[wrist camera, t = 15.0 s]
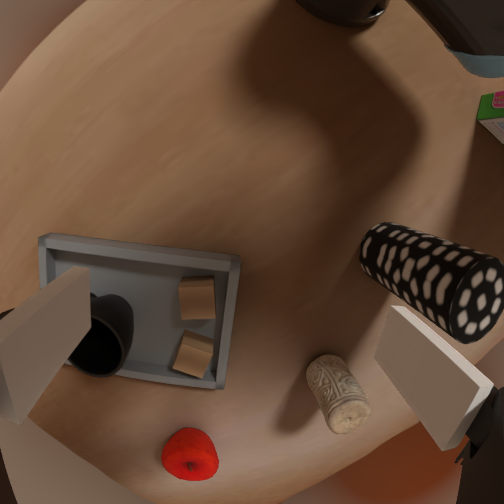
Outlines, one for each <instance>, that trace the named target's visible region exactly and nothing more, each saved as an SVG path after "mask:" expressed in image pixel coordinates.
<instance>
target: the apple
mask: <svg viewBox="0 0 504 504" xmlns="http://www.w3.org/2000/svg"><path fill="white" fill-rule="evenodd" d="M161 460H162V464H163V466H164V467H165V469H166V470H167V471H168V472H169V473H171V474H172V475H174V476H175V477H177V478H179V479H183V480H188V481H201V480H206V479H209V478H211V477H212V476H213V475H214V474H215V473H216V471H217V469H218V465H219V459H218V456H217V452H216V450H215V447H214V444H213V442H212V441H211V439H210V438H209V436H208V435H207V434H206V433H204V432H203V431H201V430H199V429H195V428H184V429H181V430H179V431H178V432H177V433H176V434H174V435H173V436H172V437H171V439H170V440H169V441H168V442H167V444H166V445H165V447H164V448H163V451H162V456H161Z"/></svg>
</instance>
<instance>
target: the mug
mask: <svg viewBox="0 0 504 504" xmlns="http://www.w3.org/2000/svg"><path fill="white" fill-rule="evenodd" d="M90 314H91V328H90V330H89V331H88V332H87V334H86V335H85V336H84V337H83V339H82V340H81V341H80V343H79V344H78V345H77V347H76V348H75V349H74V351H73V352H72V353H71V355H70V356H69V357H68V361H69V362H70V363H71V364H72V365H73V366H74V367H76V368H77V369H78V370H79V371H81V372H83V373H85V374H87V375H90V376H93V377H108V376H111V375H114V374H115V373H117V372H118V371H119V370H120V369H121V368H122V366H123V364H124V362H125V360H126V358H127V356H128V353H129V351H130V349H131V346H132V341H133V334H134V319H133V318H134V315H133V310H132V308H131V306H130V304H129V303H128V302H127V301H126V300H125V299H124V298H123V297H121V296H119V295H115V294H107V295H104V296H99V297H97V296H96V295H95V294H93V293H91V292H90Z"/></svg>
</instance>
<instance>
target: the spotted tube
mask: <svg viewBox="0 0 504 504" xmlns="http://www.w3.org/2000/svg"><path fill="white" fill-rule="evenodd" d="M359 257H360V263H361V266H362V268H363V270H364V272H365V273H366V274H367V275H368V276H370V277H371V278H373V279H374V280H375V281H377V282H378V283H380V284H381V285H382V286H384V287H385V288H387V289H388V290H389V291H391V292H392V293H393V294H395V295H396V296H398V297H399V298H400V299H402V300H403V301H404V302H406V303H407V304H409V305H410V306H411V307H413V308H414V309H415V310H417V311H418V312H419V313H421V314H422V315H423V316H425V317H426V318H427V319H429V320H430V321H431V322H433V323H434V324H435V325H437V326H438V327H439V328H441V329H442V330H443V331H445V332H446V333H447V334H449V335H450V336H451V337H453V338H454V339H455V340H457V341H458V342H459V343H463V344H470V343H473V342H476V341H478V340H480V339H481V338H483V337H484V336H485V335H486V334H487V333H488V332H489V331H490V330H491V329H492V328H493V327H494V325H495V324H496V323H497V321H498V319H499V317H500V316H501V314H502V311H503V309H504V264H503V263H502V261H501V260H499V259H498V258H496V257H493V256H490V255H487V254H485V253H482V252H479V251H477V250H474V249H471V248H468V247H465V246H462V245H460V244H457V243H454V242H451V241H448V240H445V239H442V238H439V237H436V236H433V235H430V234H427V233H424V232H421V231H418V230H415V229H411V228H408V227H405V226H402V225H399V224H395V223H391V222H384V223H380V224H378V225H376V226H374V227H373V228H371V229H370V230H369V231H368V232H367V234H366V235H365V237H364V238H363V241H362V243H361V246H360V254H359Z"/></svg>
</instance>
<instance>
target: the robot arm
mask: <svg viewBox="0 0 504 504" xmlns="http://www.w3.org/2000/svg"><path fill="white" fill-rule="evenodd" d="M296 1H297V2H298V3H299V4H300V5H301V6H302V7H303V8H305V9H306V10H307V11H309V12H310V13H312V14H313V15H315V16H317V17H319V18H321V19H323V20H325V21H327V22H330V23H333V24H337V25H341V26H349V27H357V26H364V25H367V24H370V23H372V22H373V21H375V20H376V19H377V18H378V17H379V16H381V15H382V14H383V13H384V12H385V10H386V9H387V7H388V4H389V1H390V0H296ZM405 1H406V2H407V3H408V4H409V5H410V6H411V7H412V8H413V9H414V10H415V11H416V12H417V13H418V14H419V15H420V16H421V17H422V18H423V20H424V21H425V22H426V23H427V24H428V25H429V26H430V27H431V29H432V30H433V31H434V32H435V33H436V34H437V36H438V37H439V38H440V39H441V40H442V42H443V43H444V46H445V47H446V48H447V50H449V51H450V52H451V53H453V54H454V56H455V57H456V58H457V59H458V60H459V62H460V63H461V64H462V65H463V67H464V68H465V69H466V70H467V71H469V72H470V73H472V74H474V75H477V76H479V77H484V78H499V77H504V0H405ZM90 328H91V314H90V268H84V267H78V266H73V267H71V268H70V269H69V270H67V271H66V272H64V273H63V274H61V275H60V276H59V277H57V278H56V279H54V280H53V281H52V282H50V283H49V284H47V285H46V286H45V287H43V288H42V289H40V290H39V291H38V292H36V293H35V294H34V295H32V296H31V297H30V298H28V299H27V300H26V301H24V302H23V303H22V304H20V305H19V306H18V307H16V308H13V309H10V310H8V311H5V312H2V313H1V314H0V414H1V417H2V418H4V419H7V420H9V421H11V422H14V423H16V424H18V425H22V423H23V422H24V420H25V419H26V417H27V416H28V414H29V413H30V411H31V410H32V408H33V407H34V405H35V404H36V402H37V401H38V399H39V398H40V396H41V395H42V393H43V392H44V391H45V389H46V388H47V386H48V385H49V384H50V382H51V381H52V379H53V378H54V377H55V375H56V374H57V372H58V371H59V370H60V368H61V367H62V365H63V364H64V363H65V361H66V360H67V359H68V357H69V356H70V355H71V353H72V352H73V351H74V349H75V348H76V347H77V345H78V344H79V343H80V341H81V340H82V339H83V337H84V336H85V335H86V334H87V332H88V331H89V330H90ZM374 358H375V360H376V361H377V362H378V364H379V365H380V366H381V368H382V369H383V370H384V372H385V373H386V374H387V376H388V377H389V378H390V380H391V381H392V383H393V384H394V385H395V387H396V388H397V389H398V391H399V392H400V393H401V395H402V396H403V397H404V399H405V400H406V402H407V403H408V404H409V406H410V407H411V408H412V410H413V411H414V413H415V414H416V415H417V417H418V418H419V420H420V421H421V422H422V424H423V425H424V426H425V428H426V429H427V431H428V432H429V434H430V435H431V436H432V438H433V439H434V441H435V442H436V443H437V445H438V446H439V448H440V449H441V451H445V450H448V449H452V448H455V447H457V446H458V445H459V443H460V442H461V440H462V439H463V437H464V436H465V434H466V435H467V436H468V437H469V439H470V440H469V441H468V443H467V444H466V446H465V447H464V448H463V450H462V451H461V453H460V454H459V456H458V457H457V458H456V460H455V463H457V462H458V461H459V460H460V459H461V458H463V461H462V462H461V465H463V467H462V473H461V479H460V486H459V491H458V496H457V502H456V504H504V387H502V388H500V389H499V390H498V389H497V388H496V387H495V386H494V384H493V383H492V382H491V381H490V380H489V379H488V378H487V377H485V376H484V375H483V374H482V373H481V372H480V371H479V370H478V369H477V368H475V367H474V366H473V365H472V364H471V363H470V362H469V361H468V360H467V359H465V358H464V357H463V356H462V355H461V354H460V353H459V352H457V351H456V350H455V349H454V348H453V347H452V346H451V345H449V344H448V343H447V342H446V341H445V340H444V339H442V338H441V337H440V336H439V335H438V334H437V333H435V332H434V331H433V330H432V329H431V328H429V327H428V326H427V325H426V324H425V323H424V322H422V321H421V320H420V319H419V318H418V317H416V316H415V315H414V314H413V313H412V312H410V311H409V310H408V309H407V308H405V307H404V306H391V307H390V310H389V314H388V317H387V320H386V323H385V326H384V329H383V332H382V335H381V338H380V341H379V344H378V347H377V350H376V353H375V356H374ZM0 504H18V503H17V501H16V498H15V496H14V493H13V490H12V487H11V484H10V481H9V478H8V475H7V471H6V468H5V464H4V461H3V457H2V453H1V449H0Z"/></svg>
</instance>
